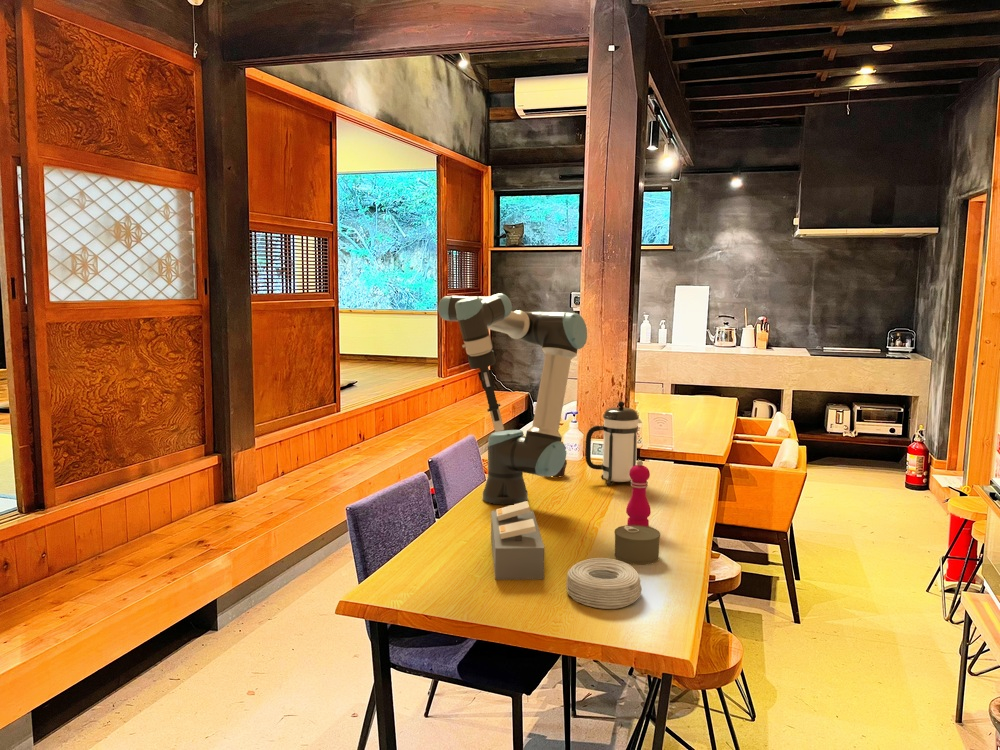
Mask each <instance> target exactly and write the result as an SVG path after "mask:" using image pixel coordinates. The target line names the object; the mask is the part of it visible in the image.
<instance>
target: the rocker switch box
mask: <svg viewBox="0 0 1000 750" xmlns="http://www.w3.org/2000/svg"><path fill="white" fill-rule="evenodd" d="M529 519H533V521H534V524H535V528H536V532H532V533H527V534H522V535H518V536H513V537H508V538H504V539H501V537H500V531H499V526H501V525H506V524H510V523H515V522H520V521H524V520H529ZM490 540H491V551H492V559H493V560H492V561H493V562H492V563H493V569H494V571H493V572H494V579H495V580H496V581H503V580H505V581H506V580H507V581H513V580H545V551H546V550H545V548H546V547H545V544H544V542H543V539H542V534H541V531H540V528H539V525H538V522H537V518H536V516H535V512H534V510H530V512H529V513H525V514H522V515H518V516H515V517H511V518H507V519H504V520H500V521H498V517H497V512H496V510H491V511H490Z"/></svg>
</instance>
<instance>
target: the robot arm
mask: <svg viewBox="0 0 1000 750" xmlns="http://www.w3.org/2000/svg"><path fill="white" fill-rule="evenodd" d="M512 309H513V306H512V301H511V299H510V298H509V297H508V296H507V295H506V294H504V293H502V292H501V293H499V292H498V293H496V294H495V293H494V294H492V295H489V296H482V295H481V296H480V295H479V296H472V295H471V296H469V295H468V296H465V295H445V296H443V297H442V298H440V301H439V303H438V309H437V311H438V314H439V317H440V318H441V319H442V320H444V321H449V322H458V325H459V329H460V333H461V336H462V340H463V343H464V344H462V345H461V346H462V348H463V349H465V352H466V354H467V360H468V365H469V368H470V369H472V370H478V369H479V370H480V371H479V372H477V374H478V378H479V381H480V382H481V383H480V384H481V387H482V389H483V390H484V391H485V392H484V393H485V395H486V400H487V404H488V408H487V413H488V412H489V414H490V418H491V422H492V424H493V429H494V432H492V433H490V434H489V436H488V440H487V441H488V442H487V443H488V444H487V472H488V473H487V479H486V482H485V484H484V485H485V486H484V489H483V491H482V500H483V501H484V502H485V503H488V502H489V503H488V504H491V503H493V505H497V504H517V503H521V502H525V501H526V500H527V501H528V499H529V497H528V495H529V493H528V489H527V487H526V483H525V480H524V475H523V474H524V473H525V474H530V475H534V476H540V477H546V476H547V477H546V478H551V476H554V475H556V474H557V473H558V472H559V471H560V470H561V469H562V467H563V465H564V462H565V459H566V458H567V446H566V445H565V443H563V442H562V438H563V436H562V435H561V434H560V431H559V429H560V424H561V423H560V422H561V417H562V413H563V407H564V400H565V395H566V390H567V384H568V380H569V373H570V369H571V363H572V360H573V359H574V358H575V357H577V355H578V351H579V350H581V349H583V348H584V347H585V345H586V343H587V340H588V328H587V324H586V321H585V319H584V318H583V317H582V315H581V314H579V313H576V312H569V311H525V310H524V311H523V310H520V309H519V310H517V309H516V310H514V311H513V310H512ZM489 330H490V331H494V332H499V333H502V334H507V335H508V337H510V338H511V339H513V340H518V341H521V342H523V343H528V344H531V345H534V346H538V347H541V351H542V352H543V353H544V355H545V356H544V361H543V367H542V372H541V377H540V383H539V386H538V387H539V389H538V393H537V401H536V404H535V410H534V415H533V420H532V426H531V427H530V428H527V430H526V433H525V436H524V432H523V430H521V429H509V430H508V429H507V430H505V427H504V423H503V420H502V416H501V415H502V414H501V412H500V411H501V410H500V407H501V403H498V400H497V397H496V393H495V389H494V387H495V381H494V374H493V371H492V369H491V368H490V369H489V367H490V366H493V365H495V364H496V361H497V360H496V357H495V356H496V355H495V353H494V350H493V343H492V342H493V341H492V338H491V336H490V332H489ZM566 460H567V459H566Z"/></svg>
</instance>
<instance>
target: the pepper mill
mask: <svg viewBox="0 0 1000 750" xmlns="http://www.w3.org/2000/svg"><path fill="white" fill-rule="evenodd" d="M643 464H644V462H643V460H641V459H640V460H636V465H635V466H633V467H632V468H631V469H630V473H629V475H630V478H631V479H632V481H631V482H630V487H632V489H631V490H632V491H631V492H632V493H631V497H630V499H629V501H628V503H627V505H626V510H625V511H626V514H627V516H628V518H627V525H640V526H647V527H650V526H649V523H650V521H649V519H648V518H649V516H650V515H651V513H652V511H651V505H650V503H649V501H648V498H647V494H646V493H647V492H646V491H647V488H648V486H649V485H648V483H649V482H648V480H649V479H650V475H651V474H650V470H649V468H648V467H647V466H645V465H643Z"/></svg>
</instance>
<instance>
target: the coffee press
mask: <svg viewBox="0 0 1000 750" xmlns="http://www.w3.org/2000/svg"><path fill="white" fill-rule="evenodd" d="M617 406H618V407H617ZM617 406H616V407H609V408H608V409H606V410H605V411H604V414H603V415H602V418H603V425H595V426H592V427H591V428H589V430H588V431H587V432H586V438H585V462H586V464H587V466H588V467H589V468H591V469H592V470H600V471H601V470H602V474H601V476H600V478H601V479H602V480H607V481H606V486H609V487H612V485H613V483H614V482H617V483H625V482H626V483H627V482H629V483H631V481H632V479H631V478H630V475H629V473H630V469H631V468H632V467H633V466H635V465H637V452H638V451H637V449H638V431H639V425H638V424H642V423H643V422H642V420H641V419H640V417H639V415H638V413H637V411H636V410H635V409H633V408H630V407H624V406H625V402H624V401H623V400H621V401H619V402H618V403H617ZM599 431H603V447H602V464H594V462H592V460H591V458H592V457H591V454H592V452H591V451H592V450H591V449H592V447H591V446H592V437H593V434H594V433H595V432H599Z"/></svg>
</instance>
